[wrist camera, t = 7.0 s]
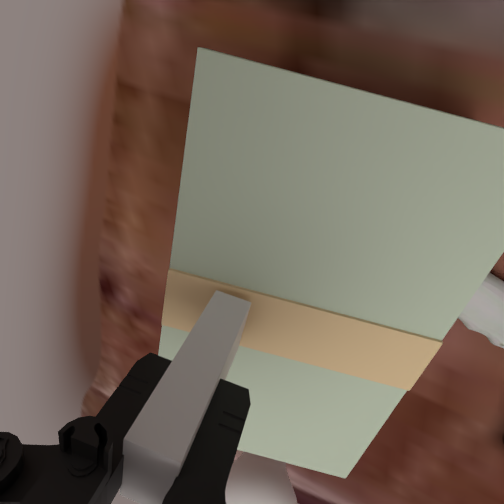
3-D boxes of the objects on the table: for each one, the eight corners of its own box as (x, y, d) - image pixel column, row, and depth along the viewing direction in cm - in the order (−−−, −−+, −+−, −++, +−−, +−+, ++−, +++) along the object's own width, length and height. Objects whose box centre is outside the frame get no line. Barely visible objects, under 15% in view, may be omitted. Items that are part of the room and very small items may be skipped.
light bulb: (225, 402, 33) (174, 536, 24) (285, 387, 30) (255, 532, 21) (262, 448, 35) (228, 590, 25) (322, 438, 32) (309, 594, 22)
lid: (204, 48, 11) (196, 47, 10) (558, 142, 11) (579, 149, 10) (154, 413, 20) (148, 428, 19) (344, 463, 20) (345, 481, 19)
